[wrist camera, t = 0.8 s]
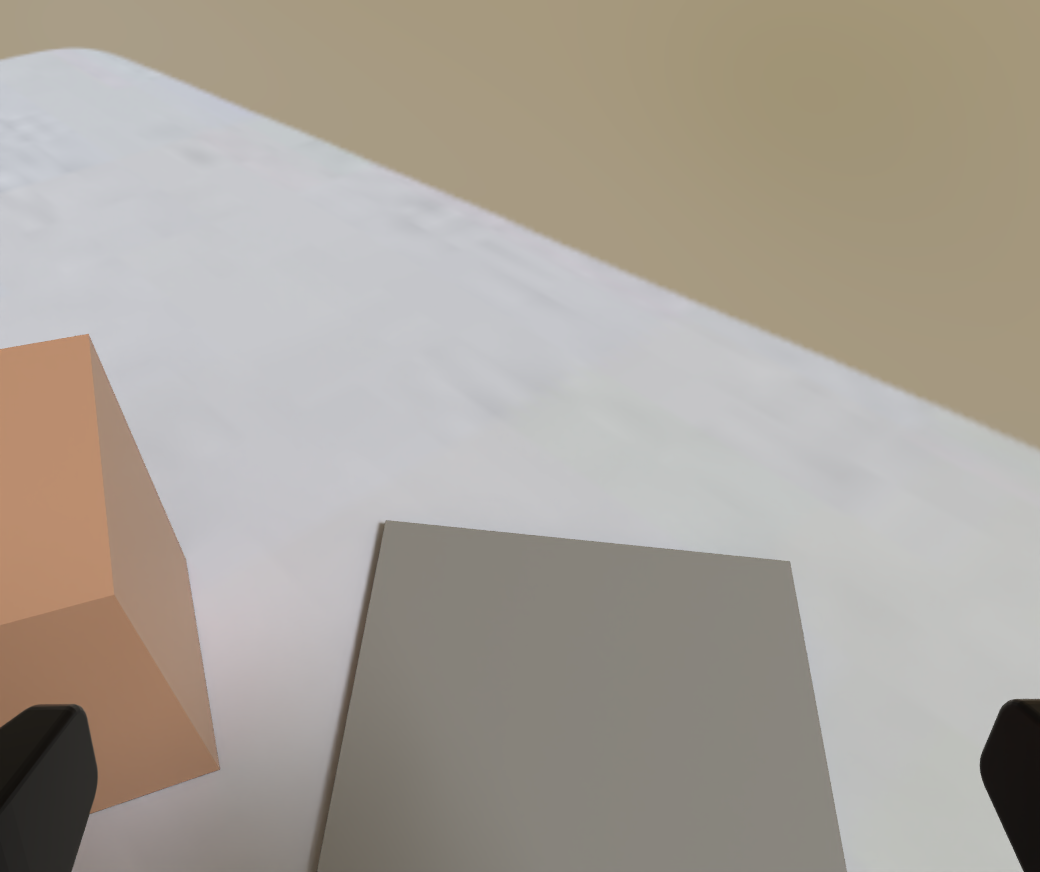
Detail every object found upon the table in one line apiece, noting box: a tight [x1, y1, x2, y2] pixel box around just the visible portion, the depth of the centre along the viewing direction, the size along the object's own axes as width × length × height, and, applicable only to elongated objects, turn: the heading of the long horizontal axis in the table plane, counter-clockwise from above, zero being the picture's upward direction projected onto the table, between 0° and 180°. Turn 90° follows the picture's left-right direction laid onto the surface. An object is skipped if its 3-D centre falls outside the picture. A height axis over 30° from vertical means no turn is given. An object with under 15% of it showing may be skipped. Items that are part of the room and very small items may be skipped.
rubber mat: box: [317, 520, 847, 872], centre depth 23 cm, size 14×14×1 cm
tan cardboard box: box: [0, 334, 220, 814], centre depth 19 cm, size 7×7×10 cm
